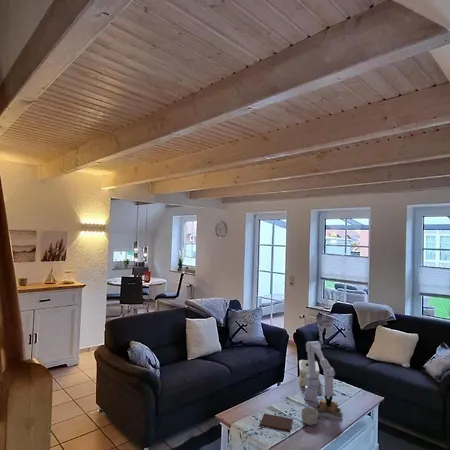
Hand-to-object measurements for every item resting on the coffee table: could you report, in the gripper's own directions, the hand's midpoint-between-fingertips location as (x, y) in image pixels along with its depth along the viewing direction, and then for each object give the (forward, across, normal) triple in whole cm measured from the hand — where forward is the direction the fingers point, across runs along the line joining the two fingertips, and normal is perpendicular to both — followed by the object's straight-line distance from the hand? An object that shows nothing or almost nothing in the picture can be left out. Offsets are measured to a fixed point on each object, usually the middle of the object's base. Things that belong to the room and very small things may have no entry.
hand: (328, 404), depth 246 cm
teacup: (+6, -16, +11) cm, 20 cm away
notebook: (+7, -26, +32) cm, 42 cm away
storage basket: (+6, +48, +19) cm, 52 cm away
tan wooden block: (+4, 0, 0) cm, 4 cm away
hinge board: (+6, 0, 0) cm, 6 cm away
